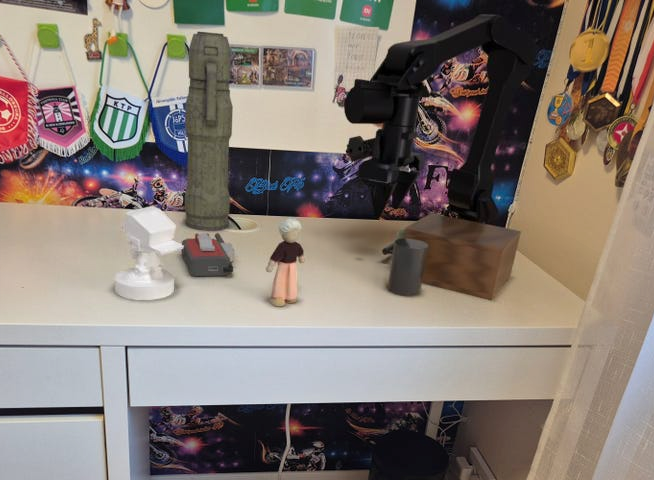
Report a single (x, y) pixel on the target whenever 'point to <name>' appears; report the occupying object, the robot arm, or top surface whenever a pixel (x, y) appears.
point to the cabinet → (465, 254)
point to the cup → (407, 267)
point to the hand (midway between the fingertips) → (386, 213)
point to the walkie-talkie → (208, 255)
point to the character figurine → (147, 255)
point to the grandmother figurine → (286, 263)
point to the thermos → (208, 132)
